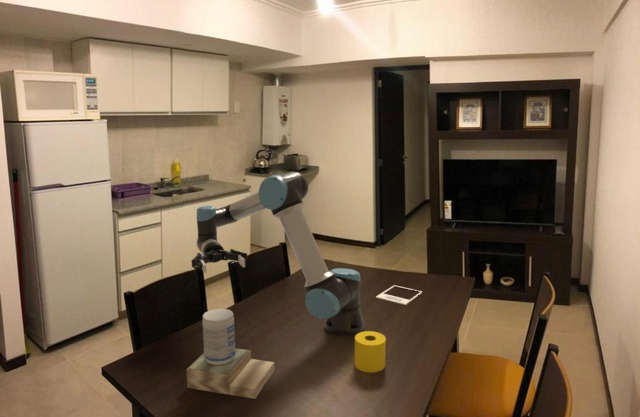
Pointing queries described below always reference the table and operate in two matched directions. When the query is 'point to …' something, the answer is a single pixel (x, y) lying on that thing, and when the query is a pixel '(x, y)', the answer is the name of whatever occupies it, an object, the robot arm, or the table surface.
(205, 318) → the supplement tub
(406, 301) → the photo frame
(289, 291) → the table surface
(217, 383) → the birch riser
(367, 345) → the yellow hollow cylinder
